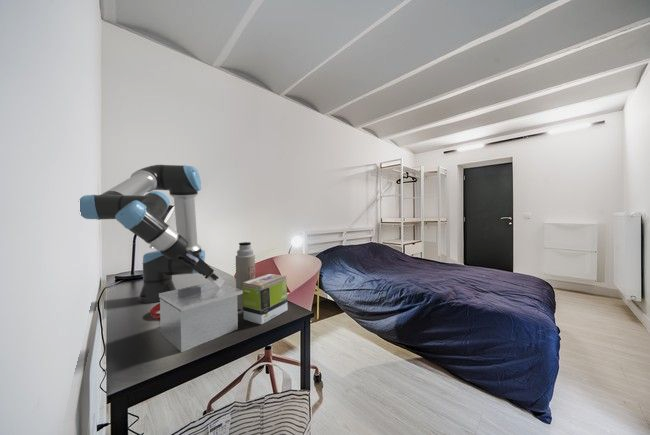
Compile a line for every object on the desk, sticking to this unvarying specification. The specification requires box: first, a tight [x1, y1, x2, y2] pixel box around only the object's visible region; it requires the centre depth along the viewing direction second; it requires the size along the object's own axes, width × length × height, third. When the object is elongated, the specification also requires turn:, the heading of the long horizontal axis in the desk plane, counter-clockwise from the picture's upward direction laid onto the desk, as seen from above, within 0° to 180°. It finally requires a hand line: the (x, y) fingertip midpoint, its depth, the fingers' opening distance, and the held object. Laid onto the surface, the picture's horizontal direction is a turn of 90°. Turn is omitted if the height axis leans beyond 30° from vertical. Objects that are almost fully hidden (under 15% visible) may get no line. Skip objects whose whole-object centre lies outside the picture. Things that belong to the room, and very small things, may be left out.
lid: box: [159, 281, 243, 311], centre depth 83 cm, size 20×20×3 cm
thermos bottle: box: [235, 241, 256, 311], centre depth 105 cm, size 8×8×28 cm
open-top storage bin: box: [159, 295, 239, 353], centre depth 83 cm, size 18×18×12 cm
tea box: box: [242, 273, 288, 325], centre depth 95 cm, size 15×10×15 cm, turn 149°
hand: (221, 283), depth 89 cm, fingers closed
